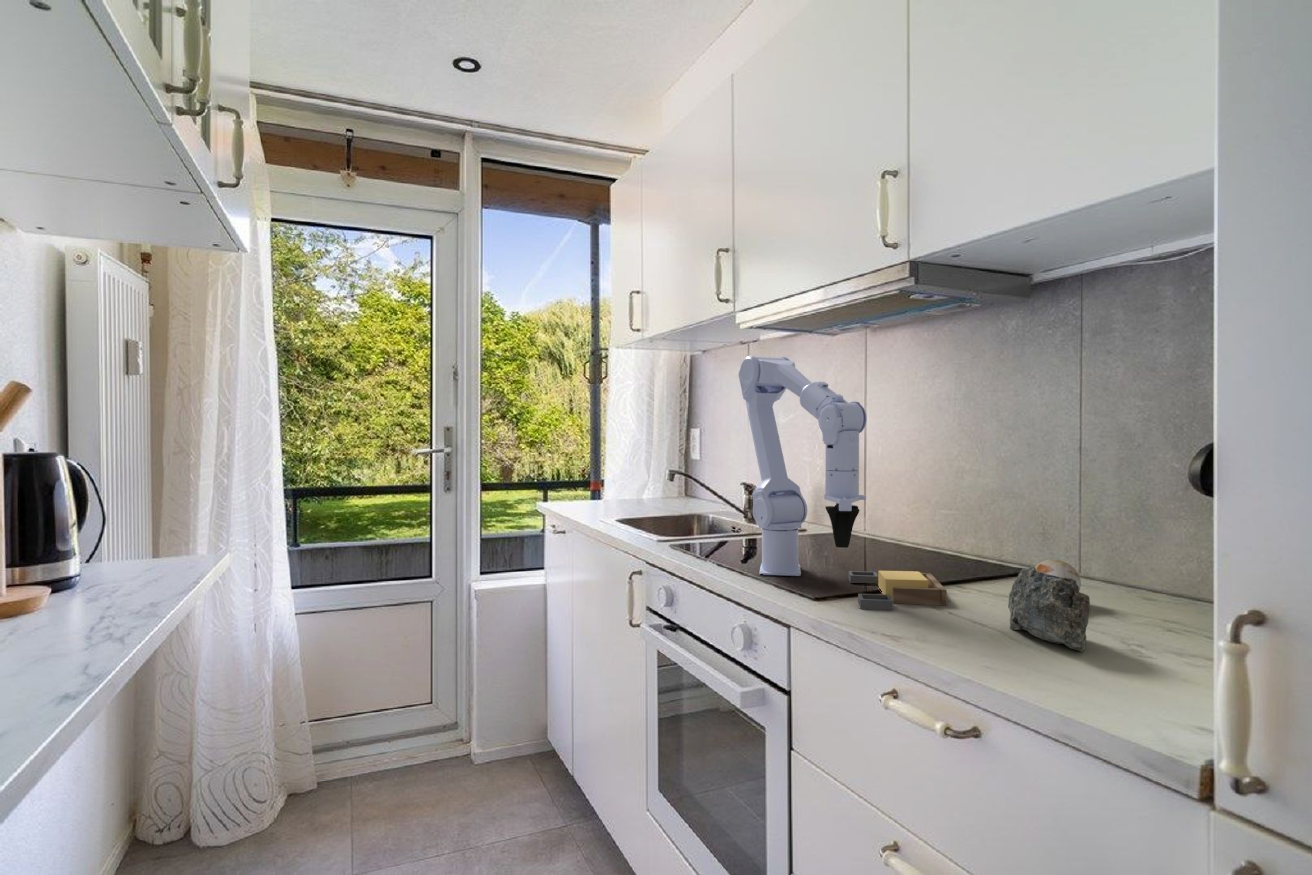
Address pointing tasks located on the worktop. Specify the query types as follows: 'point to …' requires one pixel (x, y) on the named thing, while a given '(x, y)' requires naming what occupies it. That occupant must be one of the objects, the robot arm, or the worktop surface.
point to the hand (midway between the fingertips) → (841, 546)
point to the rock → (1049, 608)
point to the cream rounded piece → (1059, 570)
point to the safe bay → (922, 593)
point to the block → (900, 580)
